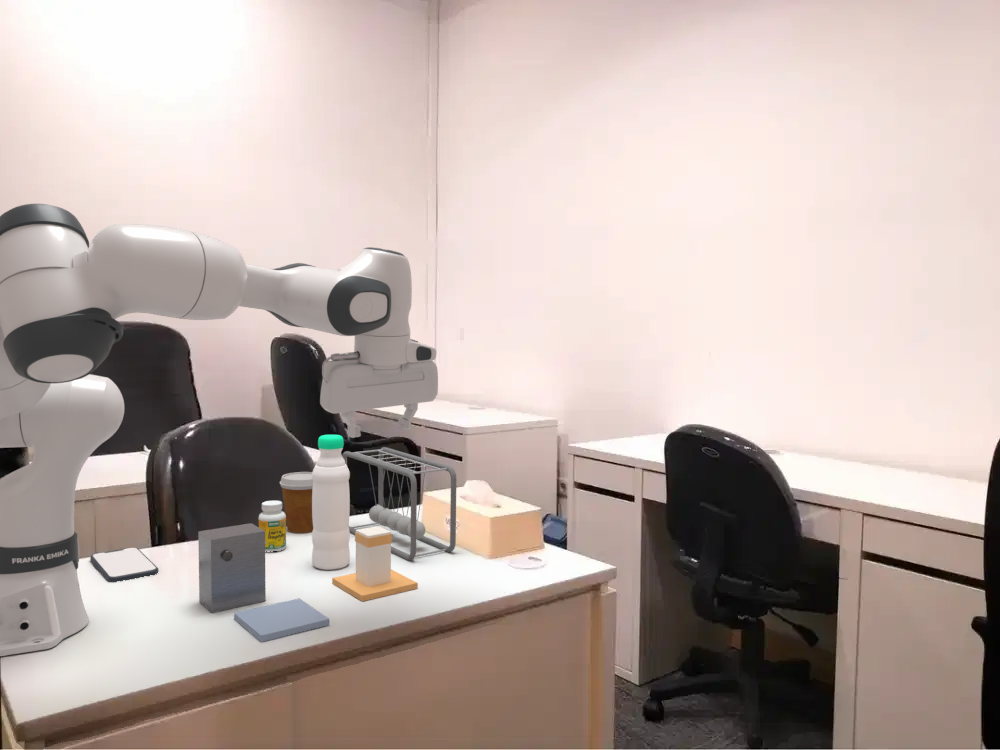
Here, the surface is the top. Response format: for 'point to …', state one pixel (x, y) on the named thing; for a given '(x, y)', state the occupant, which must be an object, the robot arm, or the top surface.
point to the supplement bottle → (273, 525)
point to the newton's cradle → (396, 519)
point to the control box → (231, 567)
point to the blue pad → (280, 619)
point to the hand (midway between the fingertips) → (379, 432)
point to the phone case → (123, 564)
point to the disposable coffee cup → (298, 501)
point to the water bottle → (330, 506)
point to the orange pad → (376, 591)
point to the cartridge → (373, 556)
